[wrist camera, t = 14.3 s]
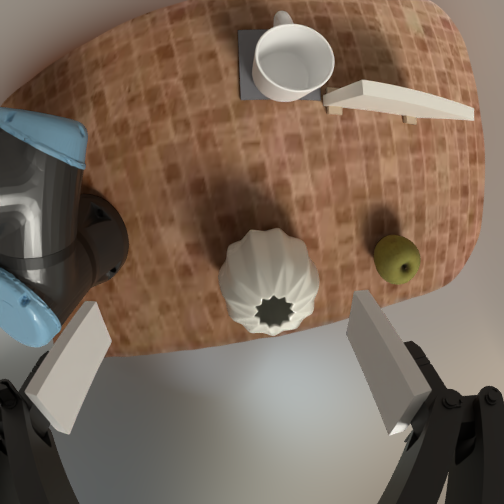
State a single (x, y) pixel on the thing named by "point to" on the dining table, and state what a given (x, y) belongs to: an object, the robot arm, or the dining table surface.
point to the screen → (393, 102)
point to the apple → (396, 259)
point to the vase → (268, 281)
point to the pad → (246, 58)
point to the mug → (291, 60)
